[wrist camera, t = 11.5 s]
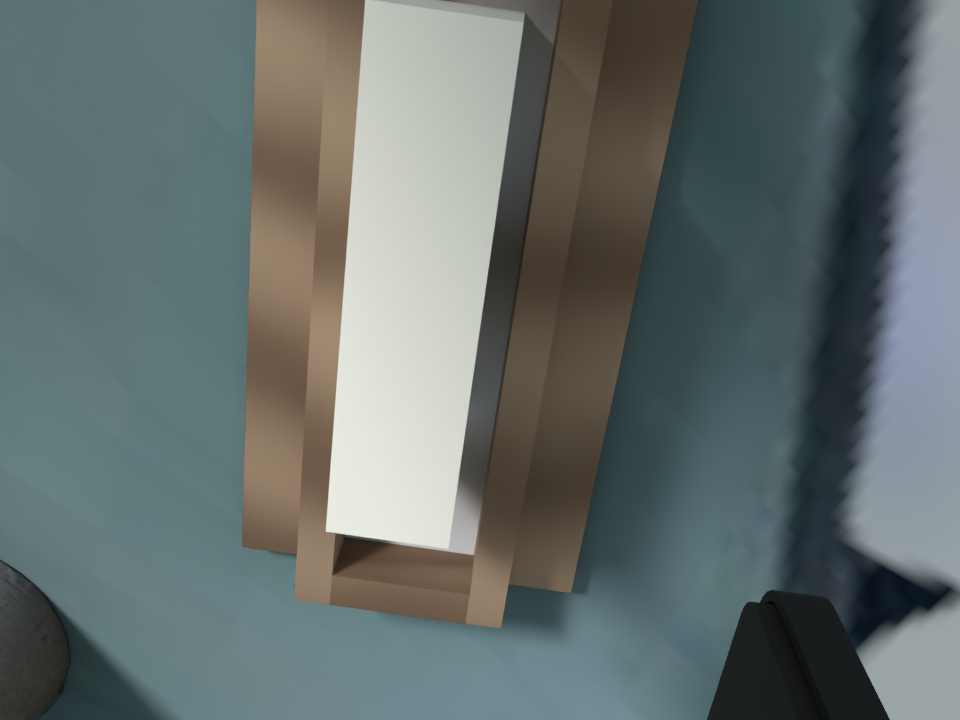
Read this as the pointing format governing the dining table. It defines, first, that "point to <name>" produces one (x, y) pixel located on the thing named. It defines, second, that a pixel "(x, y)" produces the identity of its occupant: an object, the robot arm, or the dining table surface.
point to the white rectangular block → (417, 260)
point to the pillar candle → (28, 649)
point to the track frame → (506, 310)
